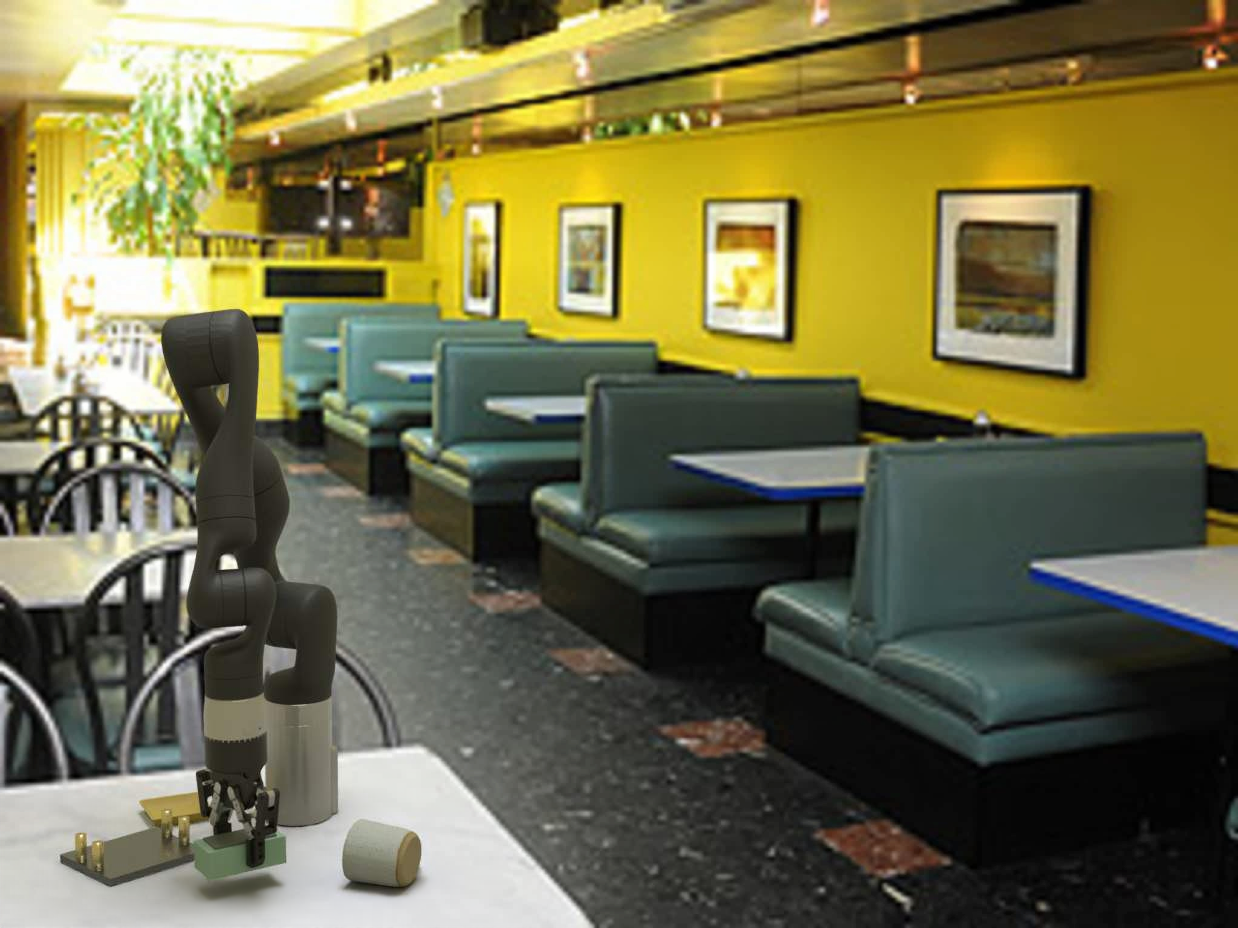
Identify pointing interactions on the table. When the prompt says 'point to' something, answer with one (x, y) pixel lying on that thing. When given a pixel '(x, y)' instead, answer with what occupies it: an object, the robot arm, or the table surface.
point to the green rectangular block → (234, 854)
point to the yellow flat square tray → (174, 807)
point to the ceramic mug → (381, 854)
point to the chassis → (133, 852)
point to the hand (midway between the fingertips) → (239, 858)
